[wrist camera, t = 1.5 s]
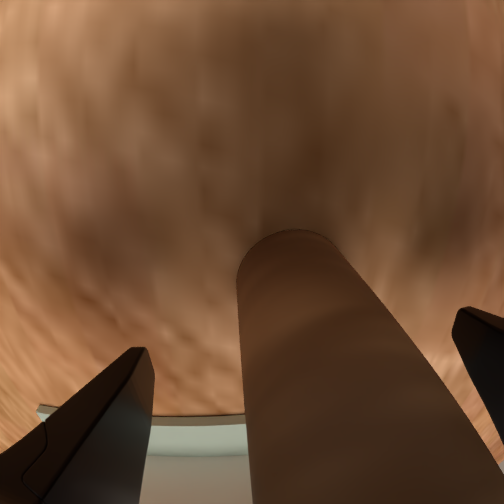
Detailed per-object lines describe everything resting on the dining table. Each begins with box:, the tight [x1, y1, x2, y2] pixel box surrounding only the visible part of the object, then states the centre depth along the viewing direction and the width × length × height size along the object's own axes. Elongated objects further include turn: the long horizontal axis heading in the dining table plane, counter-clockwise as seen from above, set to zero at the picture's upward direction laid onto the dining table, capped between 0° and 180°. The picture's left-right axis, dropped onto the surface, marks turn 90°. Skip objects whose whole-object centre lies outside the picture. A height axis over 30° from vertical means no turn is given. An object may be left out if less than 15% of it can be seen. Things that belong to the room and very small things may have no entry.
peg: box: [236, 230, 504, 504], centre depth 7 cm, size 4×4×10 cm
